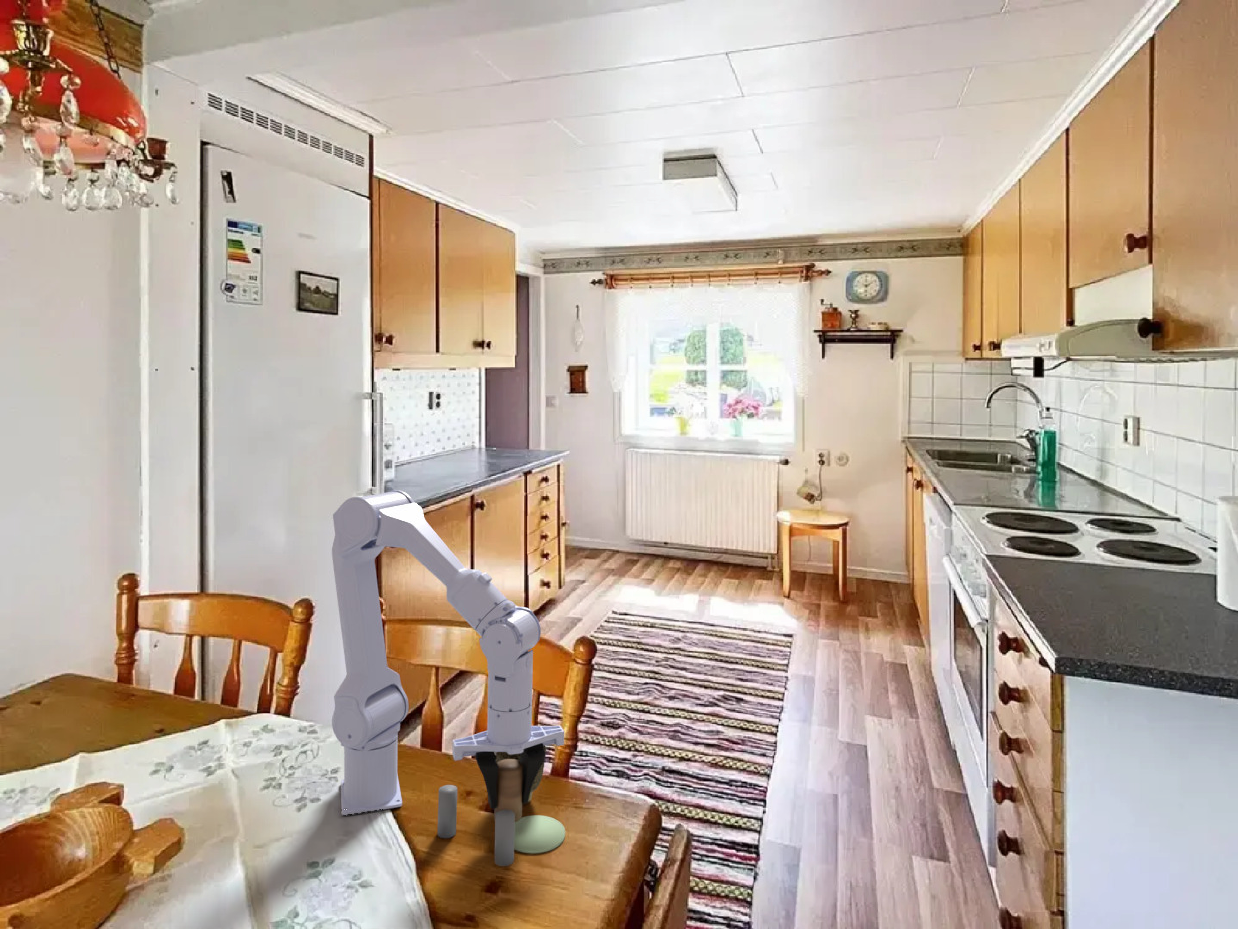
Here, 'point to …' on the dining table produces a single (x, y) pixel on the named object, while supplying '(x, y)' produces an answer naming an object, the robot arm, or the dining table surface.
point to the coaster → (538, 834)
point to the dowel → (509, 787)
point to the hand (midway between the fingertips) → (508, 802)
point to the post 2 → (504, 837)
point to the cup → (505, 755)
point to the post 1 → (447, 811)
